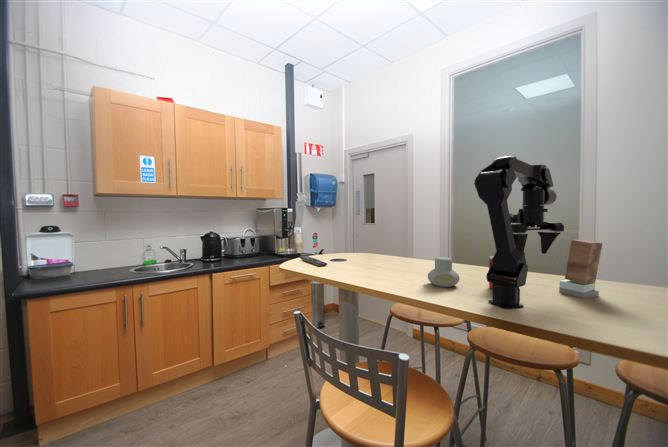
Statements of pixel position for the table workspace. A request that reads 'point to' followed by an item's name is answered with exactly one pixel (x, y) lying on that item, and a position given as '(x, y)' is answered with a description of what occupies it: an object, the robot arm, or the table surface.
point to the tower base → (579, 293)
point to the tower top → (576, 286)
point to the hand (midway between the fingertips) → (532, 254)
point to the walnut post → (583, 261)
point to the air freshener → (443, 273)
